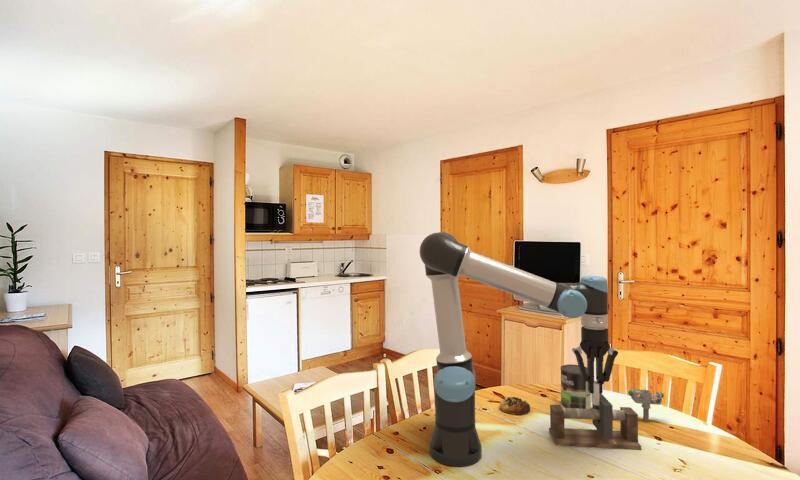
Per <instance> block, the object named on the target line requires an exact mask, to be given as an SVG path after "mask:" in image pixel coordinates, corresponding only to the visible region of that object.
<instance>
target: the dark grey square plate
mask: <svg viewBox="0 0 800 480" xmlns="http://www.w3.org/2000/svg"><path fill="white" fill-rule="evenodd" d="M591 404H592V405H591V409H599V410H600V420H591V421H592V424H593V426H594V427H595V430H598V431H599V433H600V434H601V435H602V437H603V438H604V439H613V430H614V429H613V428H614V426H613V424H614V420H613V410H614V409H613V404H612V403H611V402H610V401H609V400H608V399H607V397H605V396H604V395H603V393H602V394H599V405H594V404H593V403H592V402H591Z"/></svg>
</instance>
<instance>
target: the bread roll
mask: <svg viewBox="0 0 800 480" xmlns="http://www.w3.org/2000/svg"><path fill="white" fill-rule="evenodd" d="M498 407H499V409H500V410H501V411H502V412H503V413H506V414H509V415H514V416H515V415H516V416H517V415H526V414H528V413H529V412H530V411H531V406H530V404H529V403H528V402H527V400H523V399H522V398H519V397H518V396H517V397H516V396H507V397H505V398H503V399H502V400H501V401H500V403H499V406H498Z"/></svg>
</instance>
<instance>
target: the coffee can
mask: <svg viewBox="0 0 800 480" xmlns="http://www.w3.org/2000/svg"><path fill="white" fill-rule="evenodd" d="M585 370H586V374H587V366H585ZM591 404H592V402H591V393H590V392H589V391H588V382H587V381H584V380H583V379H582V377H581V374H580V370H579V366H578V364H563V365H560V406H561V407H562V408H578V409H592V405H591Z"/></svg>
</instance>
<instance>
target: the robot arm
mask: <svg viewBox="0 0 800 480" xmlns="http://www.w3.org/2000/svg"><path fill="white" fill-rule="evenodd" d="M419 256H420V259H421V261H422V263H423V264H424V269H425V276H426V277H427V278H428V279H429V280H430V281H431V290H432V297H433V305H434V313H435V321H436V322H435V323H436V329H437V337H438V338H437V339H438V347H439V354H437V356H436V357H435V359H436V360H435V362H436V369H437V372H436V373H435V377H434V382H433V388H434V421H435V422H434V428H433V432H432V435H431V437H430V441H429V454H430V457H431V458H432V459H433V460H435V461H437V462H438V463H440V464H441V465H442V464H443V465H446V466H450V467H467V466H470V465H473V464H475V463H477V462H478V461H480V460H481V458H482V456H483V455H482V453H483V451H482V443H481V440H480V437H479V435H478V431H477V428H476V371H475V369H474V362H473V356H472V353H470V352H469V351H468V350H467V345H466V344H467V343H466V338H465V337H466V336H465V327H464V320H463V313H462V312H463V311H462V304H461V302H462V301H461V294H460V287H459V279H458V278H459V277H464V278H467V279H470V280H473V281H476V282H478V283H481V284H483V285H486V286H489V287H491V288H494V289H496V290H499V291H501V292H504V293H507V294H509V295H513V296H515V297H518V298H521V299H523V300H525V301H528V302H531V303H534V304H536V305H539V306H541V307H544V308H546V309H549V310H552V311H553V312H554V311H555V312H557V313H559V314H560V315H561V316H563V317H565V318H568V319H577V318H580V325H581V327H580V333H581V334H580V337H581V338H580V340H581V341H580V343H579V346H578V347H575V348H574V347H573V348H572V350H571V351H572V353H574V356H575V359H576V362H577V365H578V366H579V370H580V374H581V377H582V379H583V380H584V381H587V382H588V391H589V392H590V393H591V404H592V403H593V404H594V405H599V394H602V395H603V390H604V389H603V388H604V387H603V385H604V384H605V382H606V383H608V382H609V381H610V379H611V376H612V375H611V374H612V371H613V367H614V362H615V358H616V357H617V356H618V354H619V352H618V351H617V349H615V348H612V347H611V345H610V342H609V328H608V327H609V287H608V285H609V284H608V280H607V278H606V277H604V276H600V275H584V276H581V277H580V281H579V282H574V283H573V282H555V281H551V280H550V279H548V278H547V279H546V278H544V277H541V276H538V275H537V274H536V275H535V274H534V273H530V272H528V271H525V270H523V269H520V268H517V267H516V266H512V265H508V264H507V263H504V262H502V261H498V260H496V259H493V258H491V257H488V256H485V255H482V254H480V253H477V252H474V251H472V250H471V249H470V246H468V245H465V244H463V243H460V242H459V241H458V240H457V238H455V236H453V235H452V234H451V233H448V232H444V231H442V232H441V231H439V232H432V233H431V234H429V235H427V236H426V237H425V238H424V239H423V240H422V242H421V243H420V247H419ZM583 353H584V354H585V355H586V362H587V363H586V366H585V363H584V359H583V356H582V354H583ZM606 354H607V356H606V361H605V365H604V356H605V355H606ZM585 367H587V374H586V370H585Z"/></svg>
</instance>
